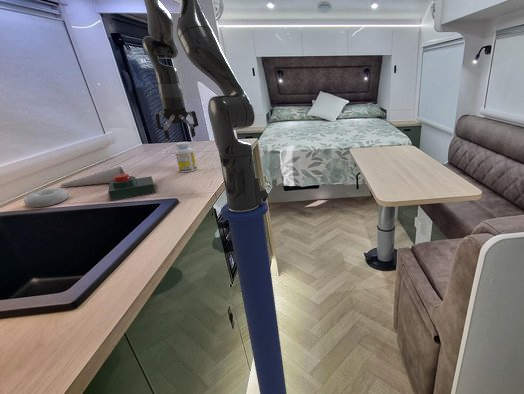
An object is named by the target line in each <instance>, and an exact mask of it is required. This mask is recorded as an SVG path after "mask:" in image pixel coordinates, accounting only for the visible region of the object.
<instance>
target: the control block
mask: <svg viewBox="0 0 524 394" xmlns="http://www.w3.org/2000/svg"><path fill="white" fill-rule="evenodd" d="M129 177H130V179H129V180H126V181H121V182H115V179H112V180H110V182H109V183H108V184H109V186H108V191H107V193H108V195H109V198H110V201H112V202H114V201H118V200H123V199H129V198H134V197H140V196H146V195H150V194H151V195H152V194H156V188H155V184H154V180H153V176H152V175H151V176H144V177H138V178H136V176H132V175H129Z"/></svg>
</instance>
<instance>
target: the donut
mask: <svg viewBox="0 0 524 394" xmlns="http://www.w3.org/2000/svg"><path fill="white" fill-rule="evenodd" d="M68 197H69V192H68V190H67V189H64V188H62V187H51V188H45V189H41V190H35V191H33V192H30V193H29V194H26V196H24V198H23V203H24V204H25V205H26V206H27V207H31V208H43V207H49V206H55V205H56V204H60V203H62V202H64V201H65V200H67V199H68Z"/></svg>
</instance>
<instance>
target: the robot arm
mask: <svg viewBox="0 0 524 394" xmlns="http://www.w3.org/2000/svg"><path fill="white" fill-rule="evenodd" d="M143 2H144V6H145V10H146V11H145V12H146V17H147V19H146V20H147V30H148V34H149V35H146V36H144V37H143V39H142V41H141V42H142V48H143V50H144V52H145V54H146V56H147V57H148V59H149V61H150V63H151V65H152V67H153V70H154V74H155V76H156V81H157V89H158V93H159V96H160V100H161V106H162V112H155V113H154V117H155V124H156V128H157V130H160V131H163V134H164V138H165V139H166V140H167V141H171V137H170V133H169V130H168V129H169V127H170V126H171V124H172V125H175V124H183V123H185V124H186V125H187V126H188V127H189V131H190V137H191V139H193V138H195V137H196V131H195V128H196V127H199V121H198V116H197V114H196V111H194V110H191V111H187V109H186V105H185V100H184V94H183V90H182V87H181V85H180V79H179V75H178V69H176V67H175V66H171V65H167V64H164V63H162V62H161V61H160V60H161V59H162V60H165V59H166V60H174V59H176V58H177V57H178V55H179V48H178V45H177V43H176V41H175V39H174V20H173V17H172V14H171V13H170V11H169V10H168V8H167V7H166V6H165V5H164V4H163V3H162V2H161V0H143ZM176 35H177V39H178V41H179V43H180V45H181V47H182V50H183V52H184V53H185V55H186V57H187V59H188V60H189V61H190V62H191V63H192V65H193V66H195V68H197V69H198V70H199V71H200V72H201V73H202V74H204V75H205V76H206V77H207V78H209V79H210V80H211V81H212V82H213V83H214V84H215V85H216V86H217V87H218V88H219V90H220V92H221V93H222V94H223V95H215V96H212V97H210V98H209V100H208V104H207V112H208V118H209V123H210V127H211V130H212V135H213V139H214V143H215V146H216V148H217V152H218V156H219V157H218V158H219V162H220V167H221V172H222V173H221V174H222V179H223V184H224V189H225V196H226V200H227V204H228V209H229V211H230V212H233V213H247V212H251V211H254V210H256V209H258V208H259V207H262V202H261V200H262V201H264V202H265V201H266V202H267V199H268V198H269V194H268V192H267V189H266V188H265V187H263V186H262V185H261V184H260V180H259V177H257V174H256V166H255V159H254V158H255V157H254V152H253V145H252V142H250V141H247V140H243V139H239V138H237V137H236V135H235V134H236V133H235V130H242V129H248V128H250V127H252V126H253V125H254V123H255V120H256V119H255V118H256V115H255V110H254V107H253V104H252V102H251V100H250V98H249V96H248V95H247V93H246V92H245V90H244V89H243V87H242V85H241V83H240V82H239V80H238V78H237V77H236V75H235V73H234V71H233V69H232V67H231V66H230V64H229V62H228V60H227V58H226V56H225V54H224V52H223V50H222V48H221V45H220V43H219V41H218V39H217V37H216V34H215V32H214V30H213V29H212V27H211V25H210V23H209V21H208V20H207V17H206V15H205V13H204V10H203V9H202V7H201V5H200V3H199V0H181V5H180V12H179V16H178V20H177V25H176ZM159 59H160V60H159ZM188 116H190V117H191V118H192V121H193V123H191V122H190V121H189V120H188V119H187V118H188ZM163 117H164V118H165V119H166V121H165V123H164V125H161V120H162V119H163Z"/></svg>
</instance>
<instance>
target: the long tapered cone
mask: <svg viewBox="0 0 524 394" xmlns="http://www.w3.org/2000/svg"><path fill="white" fill-rule="evenodd" d="M119 174H126V173H125V170H124V168H122V167H121V166H117V167H113V168H110V169H107V170H103V171H100V172H97V173H93V174H89V175H86V176H84V177H80V178H77V179H72V180H71V181H70V180H69V181H65V182H63V183H61V184H60V185H59V186H60V188H69V187H80V186H91V185H92V186H93V185H101V184H103V185H104V184H110V183H109V182H110V180H112V179H114V176H116V175H119Z"/></svg>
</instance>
